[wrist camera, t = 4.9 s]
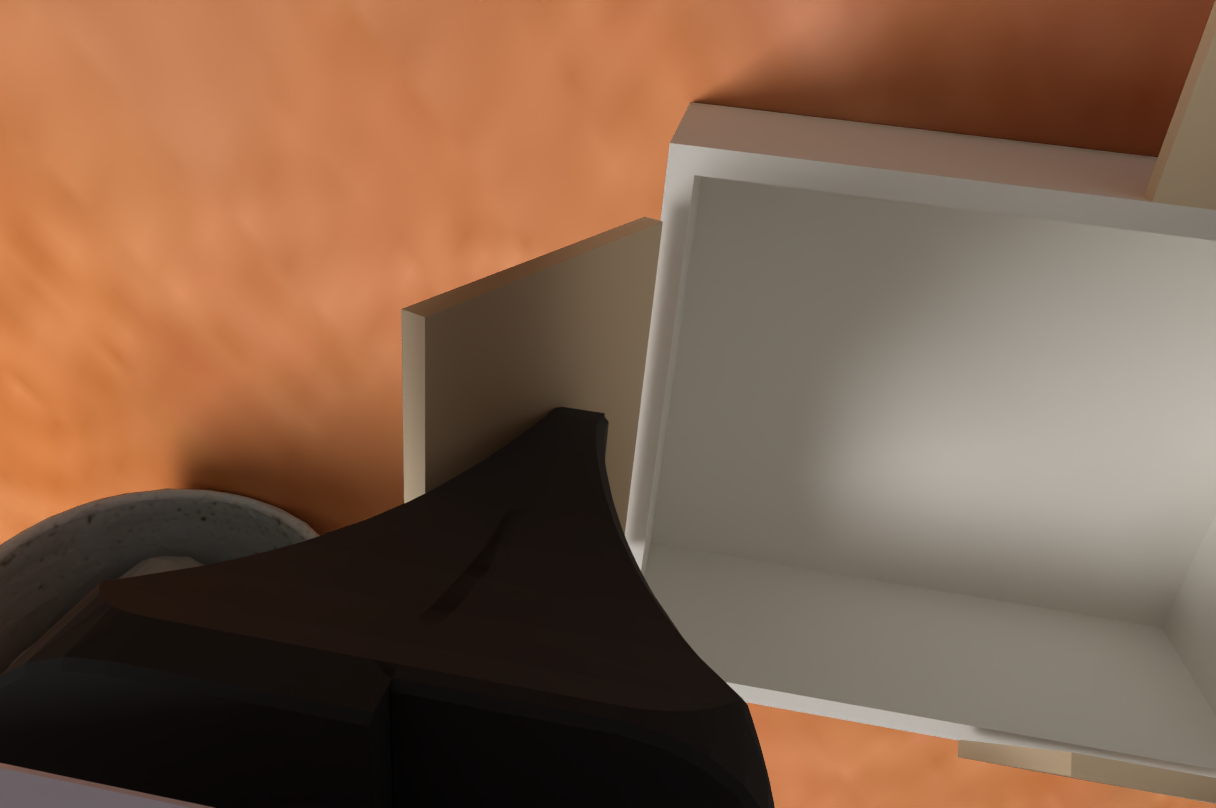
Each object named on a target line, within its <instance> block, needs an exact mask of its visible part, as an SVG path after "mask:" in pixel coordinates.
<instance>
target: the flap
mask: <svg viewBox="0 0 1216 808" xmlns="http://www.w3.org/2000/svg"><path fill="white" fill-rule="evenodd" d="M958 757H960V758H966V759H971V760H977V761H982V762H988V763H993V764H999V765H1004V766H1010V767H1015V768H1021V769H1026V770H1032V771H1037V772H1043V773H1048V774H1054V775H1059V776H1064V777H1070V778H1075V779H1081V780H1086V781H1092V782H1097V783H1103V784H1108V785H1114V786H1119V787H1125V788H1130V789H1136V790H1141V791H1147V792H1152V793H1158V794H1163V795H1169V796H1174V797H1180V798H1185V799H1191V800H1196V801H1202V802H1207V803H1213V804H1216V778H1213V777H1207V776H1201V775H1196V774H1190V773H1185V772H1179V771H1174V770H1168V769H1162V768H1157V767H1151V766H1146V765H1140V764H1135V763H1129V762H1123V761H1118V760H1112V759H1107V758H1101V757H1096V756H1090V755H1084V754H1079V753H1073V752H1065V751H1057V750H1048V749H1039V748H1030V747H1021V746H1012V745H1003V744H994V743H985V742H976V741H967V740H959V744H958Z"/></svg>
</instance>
